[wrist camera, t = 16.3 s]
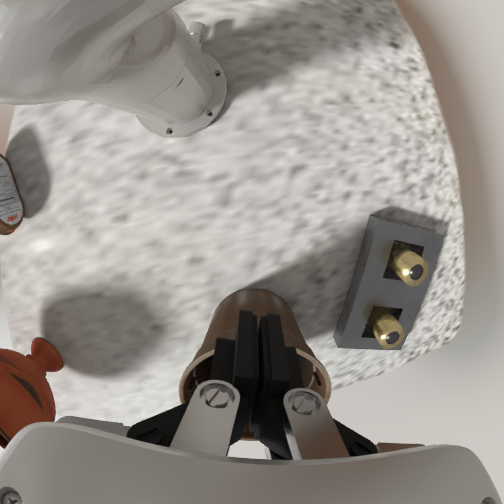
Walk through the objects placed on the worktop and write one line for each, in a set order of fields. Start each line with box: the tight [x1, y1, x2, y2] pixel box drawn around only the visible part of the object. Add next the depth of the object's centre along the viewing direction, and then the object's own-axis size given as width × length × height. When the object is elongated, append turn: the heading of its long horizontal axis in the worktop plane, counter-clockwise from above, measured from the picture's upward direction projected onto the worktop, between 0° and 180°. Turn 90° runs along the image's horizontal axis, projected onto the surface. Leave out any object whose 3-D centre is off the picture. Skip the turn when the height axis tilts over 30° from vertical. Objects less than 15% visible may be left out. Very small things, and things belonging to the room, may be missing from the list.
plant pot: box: [179, 289, 331, 441], centre depth 35 cm, size 16×16×16 cm
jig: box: [333, 215, 444, 350], centre depth 37 cm, size 20×12×7 cm, turn 171°
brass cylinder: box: [387, 242, 428, 286], centre depth 36 cm, size 4×4×7 cm
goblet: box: [0, 338, 63, 449], centre depth 34 cm, size 19×19×25 cm
